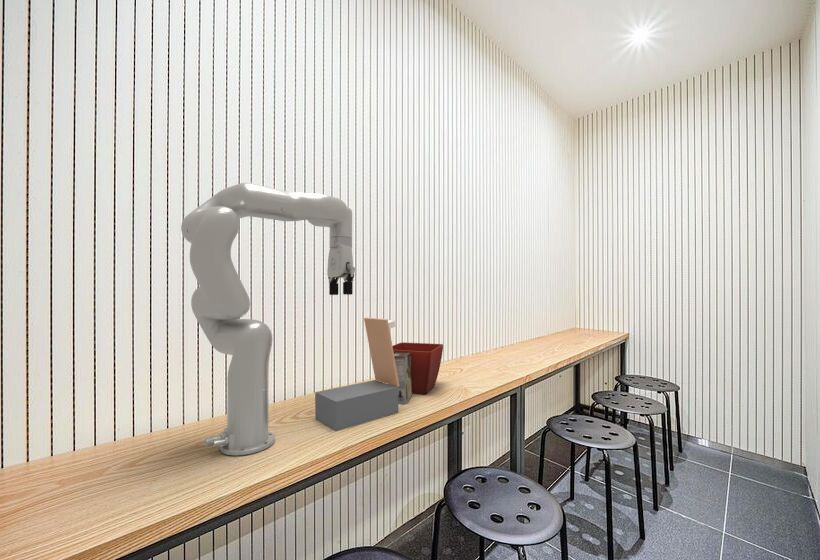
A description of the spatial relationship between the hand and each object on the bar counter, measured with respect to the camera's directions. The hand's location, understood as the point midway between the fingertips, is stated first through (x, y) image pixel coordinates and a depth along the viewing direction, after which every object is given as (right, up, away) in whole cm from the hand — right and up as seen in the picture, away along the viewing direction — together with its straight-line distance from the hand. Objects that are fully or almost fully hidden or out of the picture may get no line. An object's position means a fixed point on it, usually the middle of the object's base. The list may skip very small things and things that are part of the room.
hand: (340, 294), depth 118 cm
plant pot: (+25, -38, +21) cm, 51 cm away
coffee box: (+20, -38, +7) cm, 43 cm away
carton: (+7, -37, -8) cm, 39 cm away
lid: (+13, -19, -2) cm, 23 cm away
